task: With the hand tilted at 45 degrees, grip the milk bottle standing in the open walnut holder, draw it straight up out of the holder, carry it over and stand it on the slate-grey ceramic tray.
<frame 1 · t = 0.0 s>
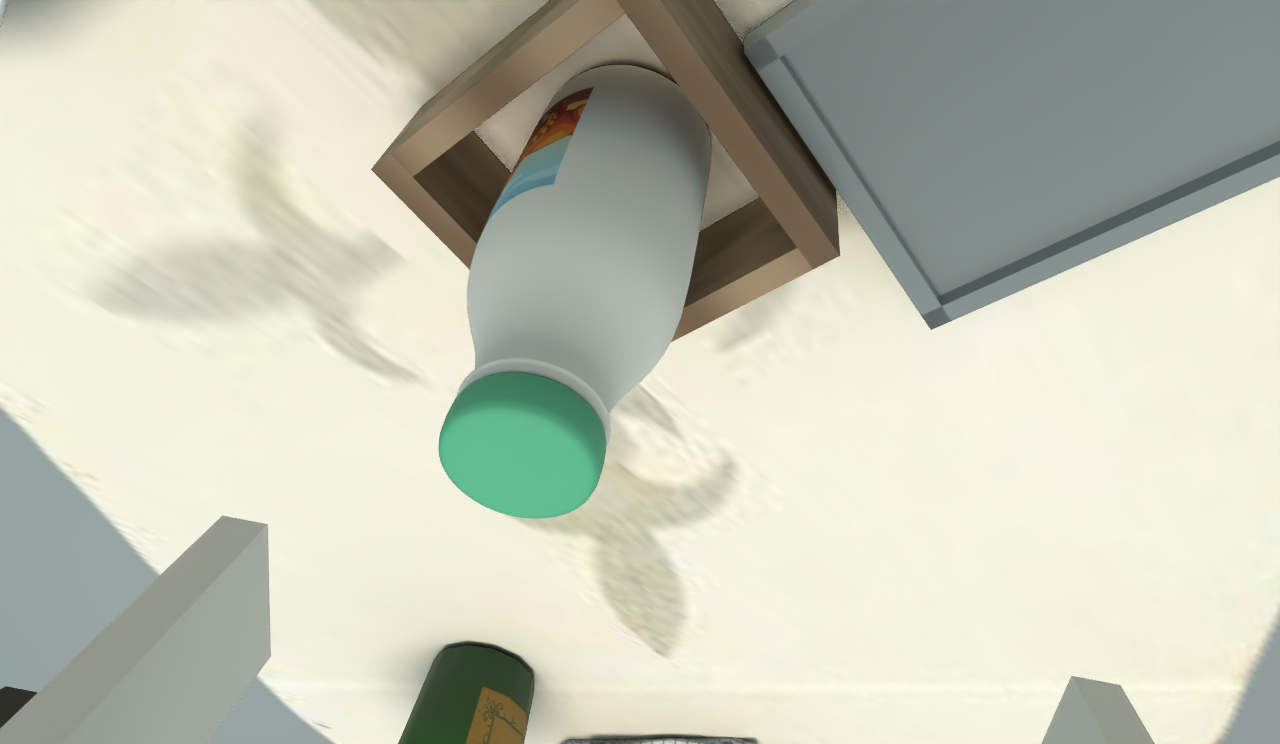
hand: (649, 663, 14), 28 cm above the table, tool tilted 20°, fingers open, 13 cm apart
milk bottle: (627, 142, 39), resting in holder
tray: (1049, 70, 34), on the table
bottle: (486, 667, 71), on the table
holder: (626, 144, 38), on the table
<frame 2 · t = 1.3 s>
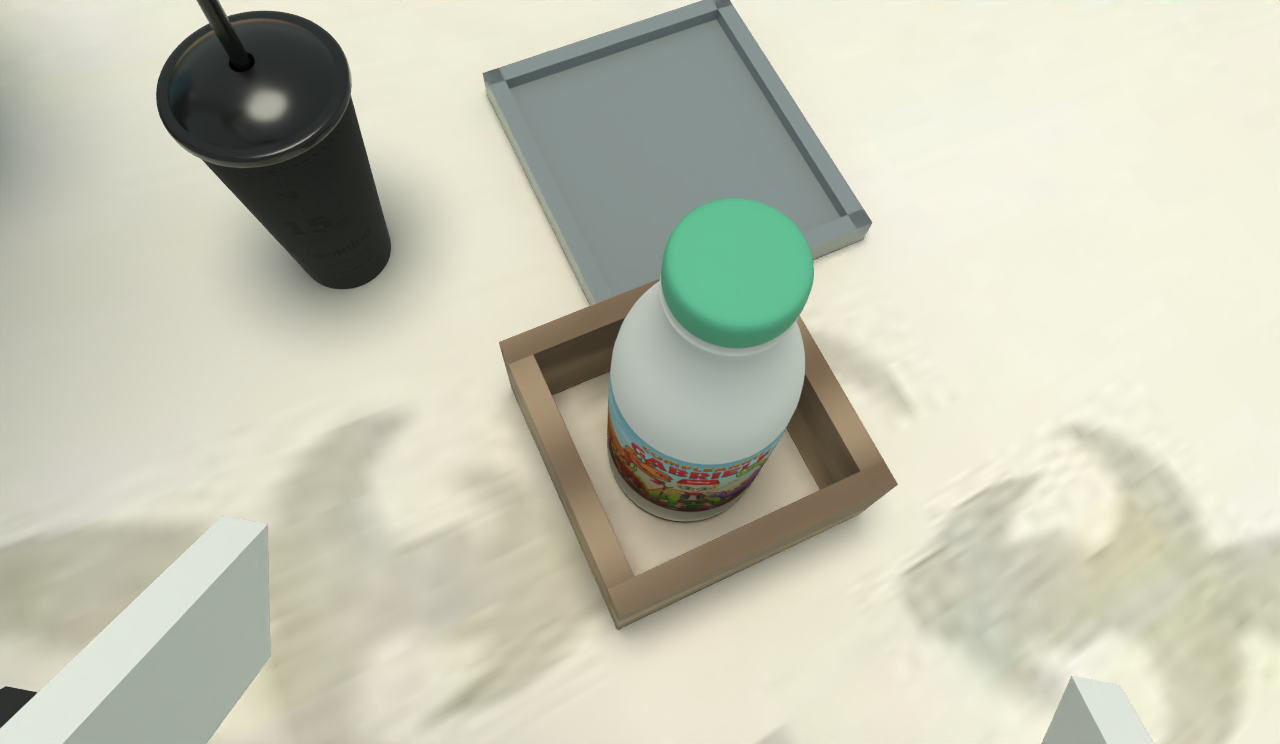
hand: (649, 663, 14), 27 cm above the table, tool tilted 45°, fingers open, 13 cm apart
drinking cup: (347, 252, 48), on the table
milk bottle: (681, 451, 44), resting in holder
tray: (669, 164, 50), on the table
holder: (682, 449, 44), on the table
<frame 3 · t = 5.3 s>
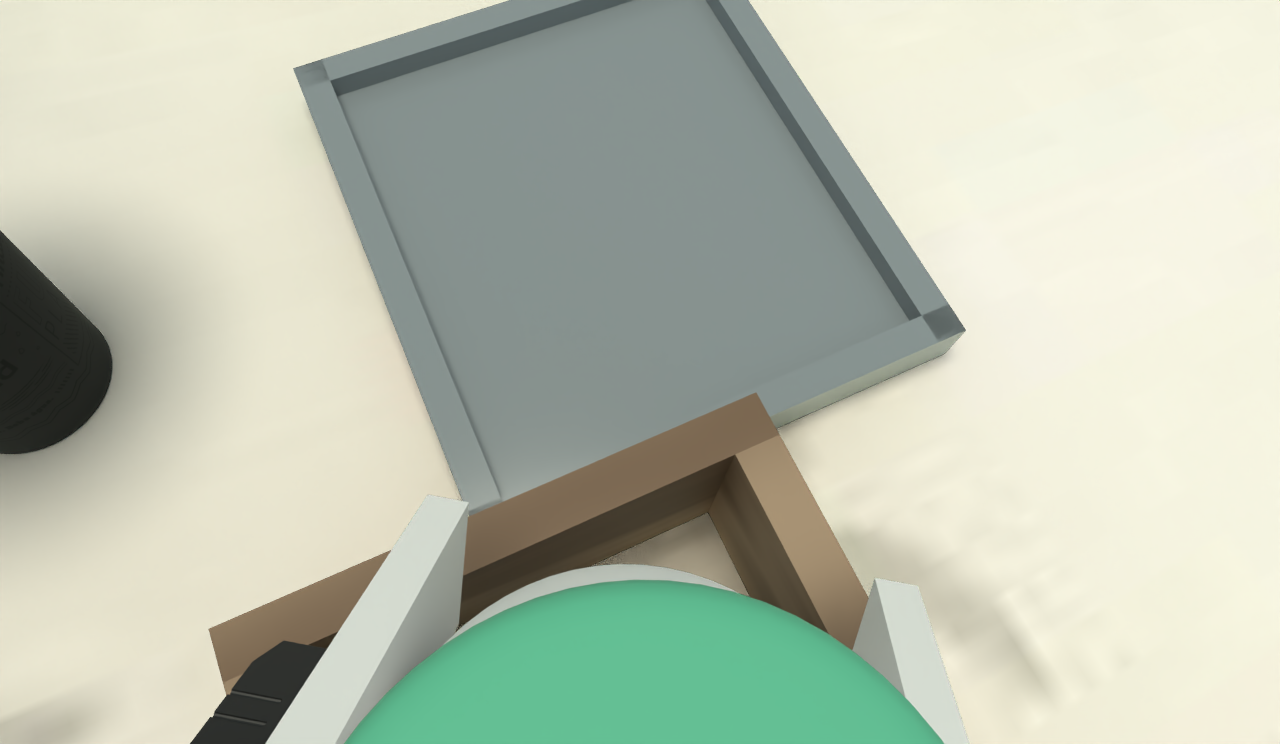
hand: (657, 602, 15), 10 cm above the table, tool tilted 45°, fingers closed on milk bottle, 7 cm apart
drinking cup: (35, 383, 27), on the table
tray: (611, 222, 30), on the table
when the fingers open (12 cm above the table, at t = 10.9 s): milk bottle drops 1 cm, resting on tray.
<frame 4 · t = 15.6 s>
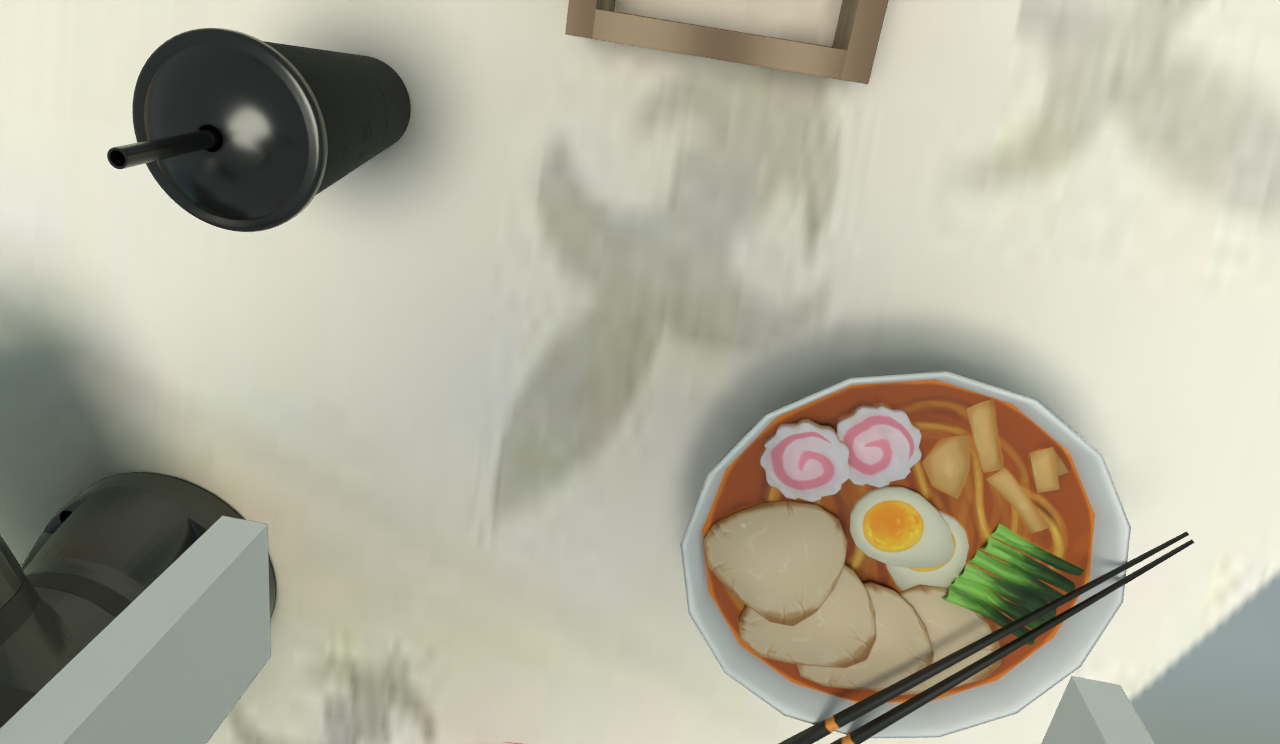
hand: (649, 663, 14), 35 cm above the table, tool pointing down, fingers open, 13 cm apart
drinking cup: (368, 104, 46), on the table
ramen bowl: (876, 499, 52), on the table
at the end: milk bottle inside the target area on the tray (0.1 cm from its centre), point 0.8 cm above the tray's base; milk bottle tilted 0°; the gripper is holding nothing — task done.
